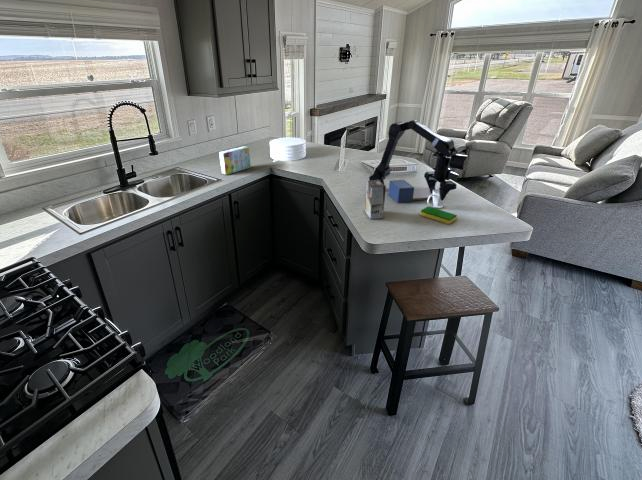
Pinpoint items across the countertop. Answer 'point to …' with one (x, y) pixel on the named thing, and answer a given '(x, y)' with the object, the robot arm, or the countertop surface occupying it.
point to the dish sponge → (438, 215)
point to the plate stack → (287, 149)
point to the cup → (436, 199)
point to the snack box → (234, 160)
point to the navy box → (407, 192)
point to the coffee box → (375, 199)
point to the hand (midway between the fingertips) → (436, 196)
